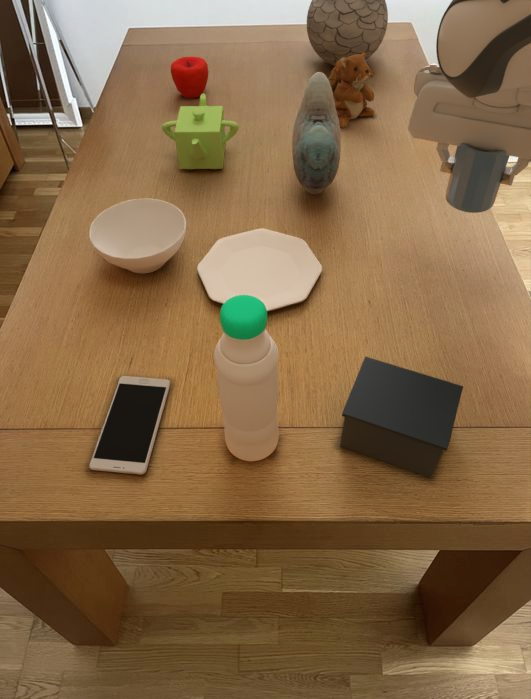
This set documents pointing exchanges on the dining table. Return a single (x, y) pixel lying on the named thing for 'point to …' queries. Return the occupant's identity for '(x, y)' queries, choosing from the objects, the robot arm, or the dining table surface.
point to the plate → (260, 268)
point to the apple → (190, 76)
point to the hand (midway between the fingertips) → (476, 176)
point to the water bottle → (247, 379)
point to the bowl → (138, 234)
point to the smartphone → (130, 425)
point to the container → (400, 416)
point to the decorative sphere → (346, 27)
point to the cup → (475, 178)
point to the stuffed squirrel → (351, 88)
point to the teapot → (200, 135)
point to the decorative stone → (316, 136)
